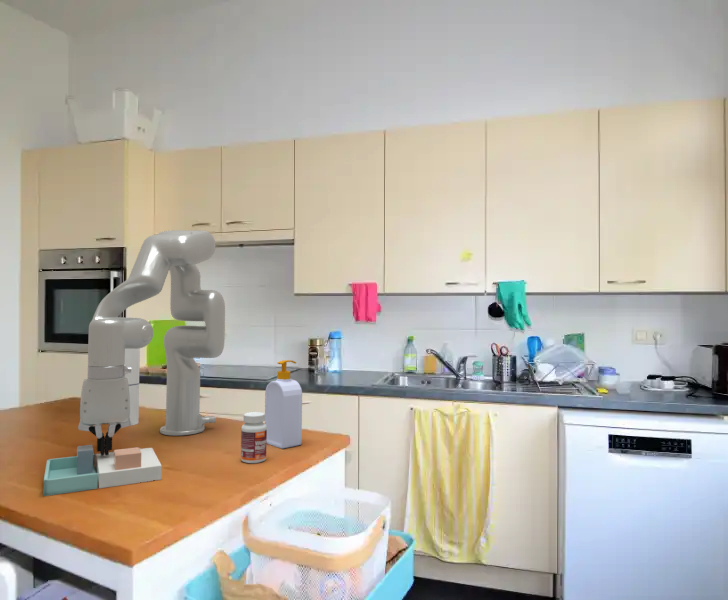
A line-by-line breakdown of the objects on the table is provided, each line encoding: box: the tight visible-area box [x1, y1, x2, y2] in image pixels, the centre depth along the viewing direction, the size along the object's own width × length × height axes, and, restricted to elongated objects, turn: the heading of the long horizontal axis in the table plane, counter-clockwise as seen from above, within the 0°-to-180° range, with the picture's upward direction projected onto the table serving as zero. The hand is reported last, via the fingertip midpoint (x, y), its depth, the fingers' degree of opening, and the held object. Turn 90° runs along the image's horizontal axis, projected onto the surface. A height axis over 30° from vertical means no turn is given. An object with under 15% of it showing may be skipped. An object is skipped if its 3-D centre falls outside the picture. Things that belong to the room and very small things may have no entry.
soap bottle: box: [264, 359, 303, 450], centre depth 142 cm, size 9×7×23 cm
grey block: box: [76, 444, 94, 475], centre depth 115 cm, size 5×5×3 cm
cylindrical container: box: [124, 348, 141, 426], centre depth 163 cm, size 7×7×25 cm
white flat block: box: [95, 447, 163, 489], centre depth 115 cm, size 12×16×3 cm
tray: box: [42, 453, 98, 497], centre depth 110 cm, size 9×16×3 cm, turn 30°
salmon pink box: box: [113, 446, 141, 470], centre depth 111 cm, size 5×5×3 cm
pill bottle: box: [240, 411, 267, 464], centre depth 126 cm, size 6×6×11 cm
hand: (104, 453), depth 117 cm, fingers closed
